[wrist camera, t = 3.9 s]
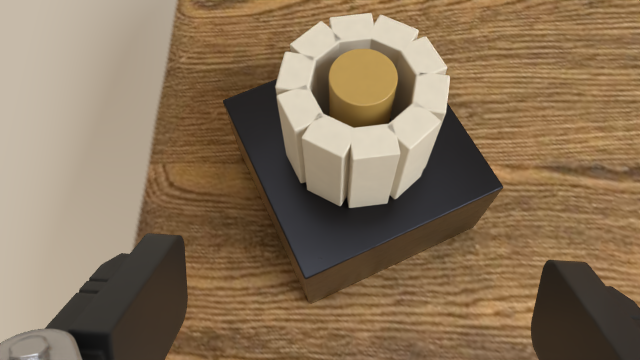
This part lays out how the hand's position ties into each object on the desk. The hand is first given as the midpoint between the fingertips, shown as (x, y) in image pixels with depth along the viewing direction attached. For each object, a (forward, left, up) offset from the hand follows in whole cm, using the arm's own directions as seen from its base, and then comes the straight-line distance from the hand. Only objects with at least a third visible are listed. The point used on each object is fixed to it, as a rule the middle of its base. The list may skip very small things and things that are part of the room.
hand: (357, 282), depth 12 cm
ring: (+4, +7, -8) cm, 12 cm away
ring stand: (+4, +7, -13) cm, 16 cm away
